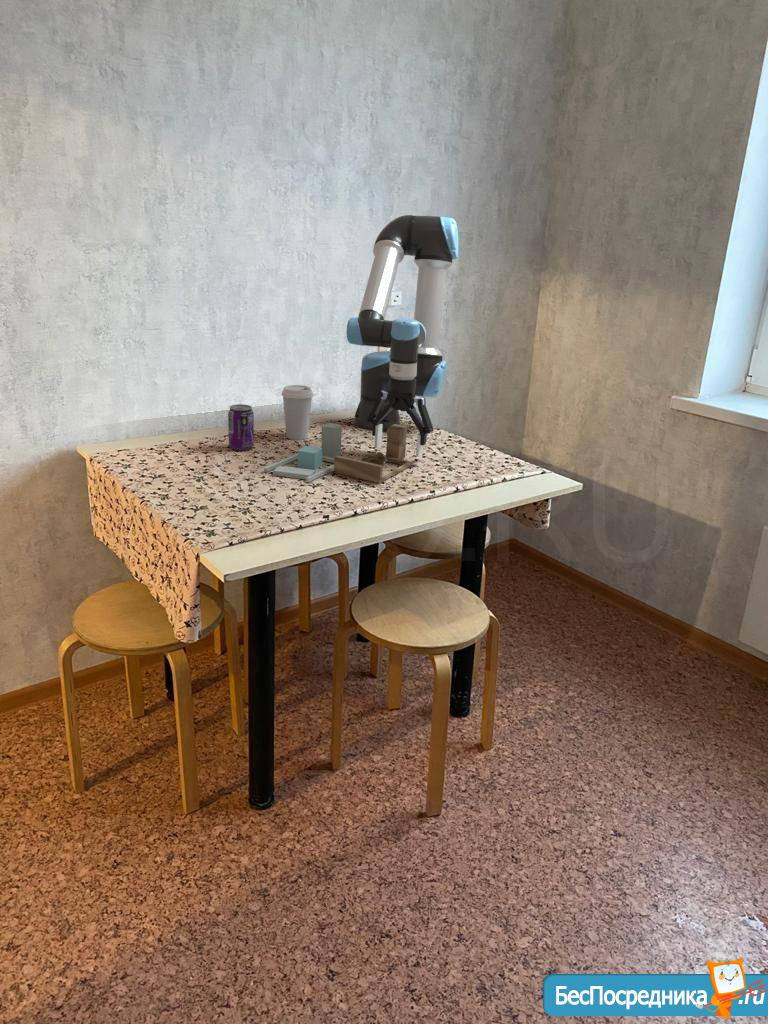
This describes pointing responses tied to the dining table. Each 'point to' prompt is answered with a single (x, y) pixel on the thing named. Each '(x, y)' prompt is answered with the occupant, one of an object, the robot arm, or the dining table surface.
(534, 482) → the dining table surface
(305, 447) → the teal block
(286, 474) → the grey rectangular block
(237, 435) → the beverage can
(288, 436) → the coffee cup
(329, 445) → the grey open frame
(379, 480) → the brown open frame
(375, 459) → the rock sample
